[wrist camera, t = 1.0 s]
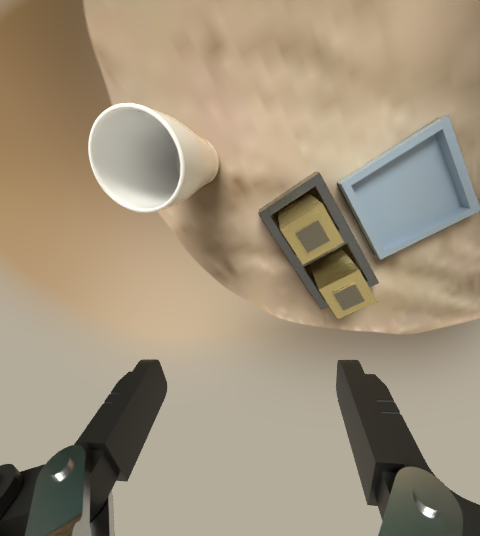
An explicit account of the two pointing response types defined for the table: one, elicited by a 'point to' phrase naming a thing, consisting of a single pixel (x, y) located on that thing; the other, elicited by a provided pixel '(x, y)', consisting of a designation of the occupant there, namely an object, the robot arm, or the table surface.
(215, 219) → the table surface
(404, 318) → the table surface
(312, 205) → the square peg
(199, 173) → the white tapered cylinder
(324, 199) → the frame
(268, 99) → the table surface
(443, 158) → the parts tray
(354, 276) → the gold square peg
